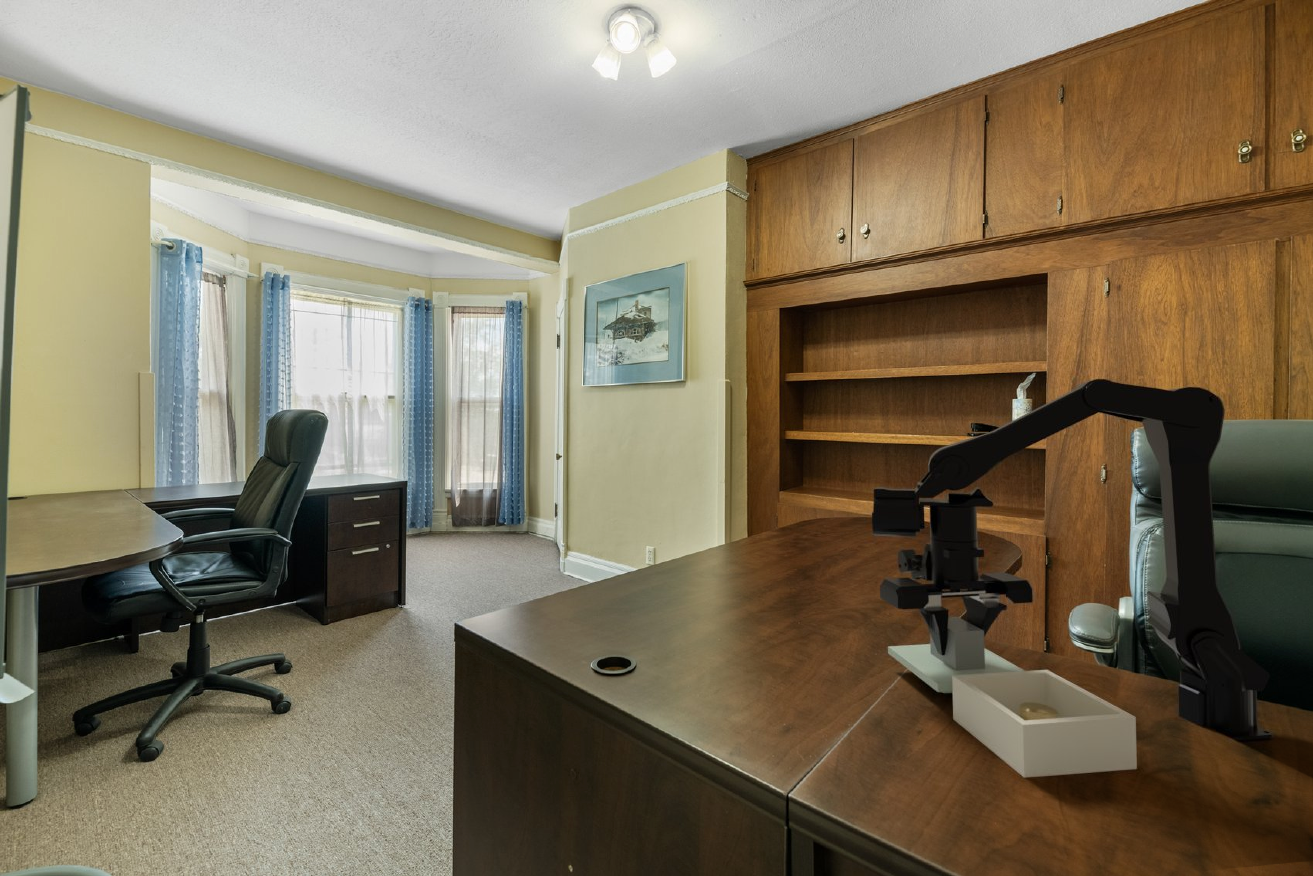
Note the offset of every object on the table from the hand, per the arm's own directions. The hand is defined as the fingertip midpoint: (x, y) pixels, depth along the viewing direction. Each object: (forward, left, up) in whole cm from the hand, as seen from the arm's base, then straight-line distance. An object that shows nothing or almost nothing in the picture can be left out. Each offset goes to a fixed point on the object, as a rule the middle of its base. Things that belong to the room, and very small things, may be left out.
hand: (956, 653), depth 79 cm
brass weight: (-1, +14, -4) cm, 15 cm away
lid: (0, 0, -2) cm, 2 cm away
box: (0, +15, -5) cm, 16 cm away
